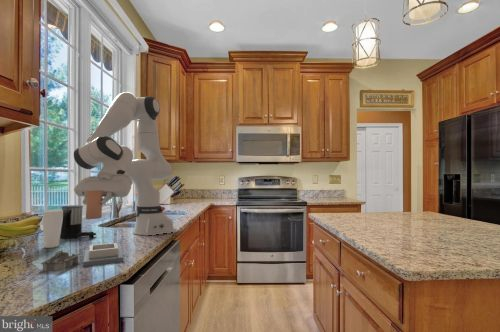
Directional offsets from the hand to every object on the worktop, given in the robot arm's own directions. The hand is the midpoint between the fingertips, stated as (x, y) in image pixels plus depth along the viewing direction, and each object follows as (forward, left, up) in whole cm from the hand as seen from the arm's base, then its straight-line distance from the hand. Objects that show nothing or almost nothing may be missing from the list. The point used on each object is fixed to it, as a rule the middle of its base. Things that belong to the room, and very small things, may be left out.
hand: (93, 203), depth 98 cm
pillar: (0, 0, -5) cm, 5 cm away
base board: (-4, 0, -20) cm, 20 cm away
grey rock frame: (+8, +4, -20) cm, 23 cm away
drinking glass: (+15, -25, -20) cm, 35 cm away
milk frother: (+6, -41, -20) cm, 46 cm away
